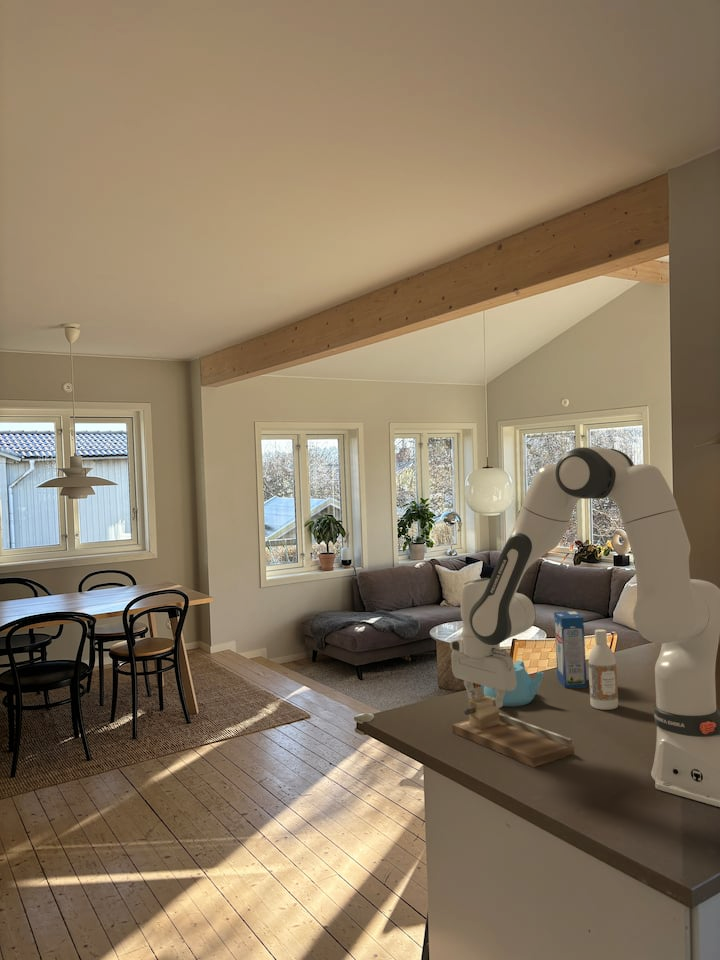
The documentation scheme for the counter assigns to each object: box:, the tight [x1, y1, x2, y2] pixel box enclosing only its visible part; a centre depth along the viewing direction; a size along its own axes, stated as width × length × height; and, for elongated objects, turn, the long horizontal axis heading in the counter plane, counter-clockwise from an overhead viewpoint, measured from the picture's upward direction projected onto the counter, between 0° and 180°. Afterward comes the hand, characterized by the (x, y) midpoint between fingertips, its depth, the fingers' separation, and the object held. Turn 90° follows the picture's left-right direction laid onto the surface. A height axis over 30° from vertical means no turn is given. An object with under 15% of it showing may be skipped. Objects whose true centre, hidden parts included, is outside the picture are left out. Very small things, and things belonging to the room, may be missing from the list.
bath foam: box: [587, 628, 619, 711], centre depth 199 cm, size 7×7×20 cm
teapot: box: [480, 660, 545, 707], centre depth 209 cm, size 15×15×11 cm
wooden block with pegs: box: [463, 695, 500, 729], centre depth 184 cm, size 4×11×6 cm, turn 121°
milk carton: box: [553, 610, 588, 689], centre depth 223 cm, size 10×6×20 cm, turn 178°
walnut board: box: [451, 712, 575, 768], centre depth 176 cm, size 28×12×4 cm, turn 31°
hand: (485, 702), depth 184 cm, fingers open, 8 cm apart
